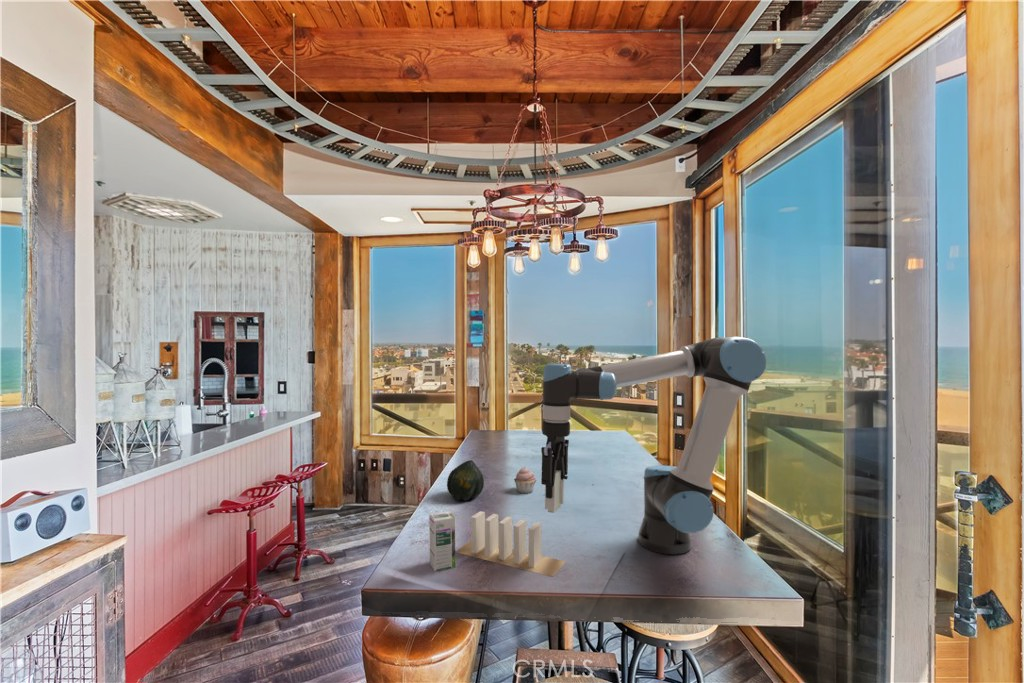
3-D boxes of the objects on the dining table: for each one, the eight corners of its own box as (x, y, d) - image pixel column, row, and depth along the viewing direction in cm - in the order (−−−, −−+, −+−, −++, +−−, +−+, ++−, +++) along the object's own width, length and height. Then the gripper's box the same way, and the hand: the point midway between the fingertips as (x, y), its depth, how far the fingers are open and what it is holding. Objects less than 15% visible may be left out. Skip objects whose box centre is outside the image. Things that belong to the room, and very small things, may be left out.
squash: (435, 488, 170) (461, 459, 170) (445, 478, 185) (469, 451, 185) (462, 515, 169) (488, 485, 168) (470, 502, 184) (495, 475, 183)
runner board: (565, 565, 122) (565, 561, 122) (553, 581, 114) (553, 576, 114) (471, 543, 136) (471, 539, 136) (454, 556, 128) (454, 551, 128)
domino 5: (541, 559, 123) (541, 523, 123) (534, 567, 119) (534, 529, 119) (536, 558, 124) (536, 522, 124) (528, 566, 120) (528, 528, 120)
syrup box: (434, 576, 117) (434, 520, 117) (429, 566, 122) (429, 512, 122) (455, 571, 119) (455, 517, 119) (449, 561, 125) (449, 509, 125)
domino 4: (526, 556, 125) (526, 520, 125) (518, 563, 121) (518, 526, 121) (521, 554, 126) (521, 519, 126) (513, 562, 122) (513, 525, 122)
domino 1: (485, 546, 132) (484, 512, 132) (476, 553, 127) (475, 518, 127) (480, 545, 132) (480, 511, 132) (471, 552, 128) (471, 517, 128)
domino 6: (560, 507, 124) (560, 470, 124) (553, 512, 119) (553, 475, 120) (555, 506, 125) (555, 469, 125) (547, 511, 120) (548, 474, 120)
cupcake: (541, 490, 184) (541, 466, 184) (526, 496, 177) (526, 471, 177) (523, 486, 190) (523, 462, 190) (509, 491, 183) (509, 467, 183)
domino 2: (498, 549, 130) (498, 514, 130) (489, 556, 125) (489, 520, 125) (493, 548, 130) (493, 513, 130) (484, 555, 126) (484, 519, 126)
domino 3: (512, 552, 127) (512, 517, 127) (504, 560, 123) (504, 523, 123) (507, 551, 128) (507, 516, 128) (498, 559, 124) (498, 522, 124)
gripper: (556, 414, 132) (554, 494, 132) (528, 423, 116) (527, 514, 116) (580, 417, 128) (579, 498, 128) (555, 427, 112) (553, 520, 112)
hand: (554, 505), depth 122 cm, fingers closed on domino 6, 5 cm apart
